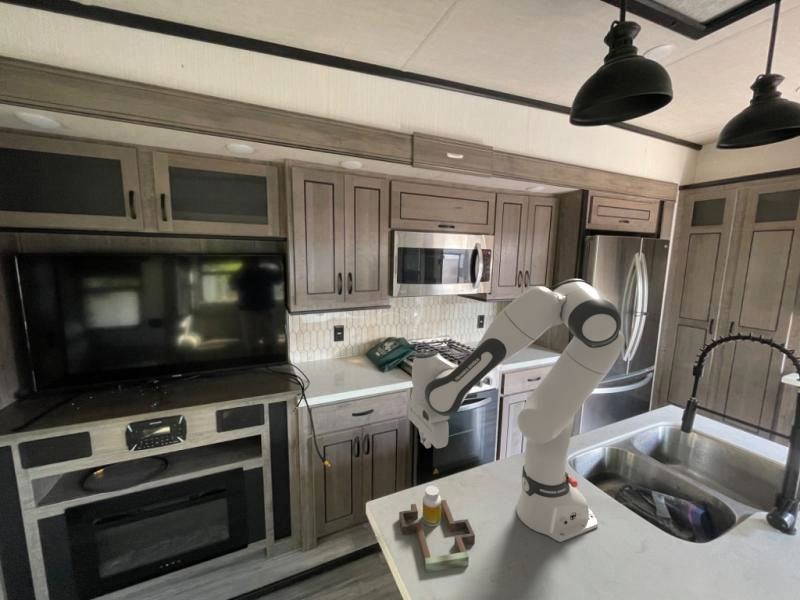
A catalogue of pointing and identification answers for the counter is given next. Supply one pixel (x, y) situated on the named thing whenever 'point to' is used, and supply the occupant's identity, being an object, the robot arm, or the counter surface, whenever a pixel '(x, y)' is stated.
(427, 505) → the supplement bottle
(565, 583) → the counter surface
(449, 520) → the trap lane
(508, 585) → the counter surface
